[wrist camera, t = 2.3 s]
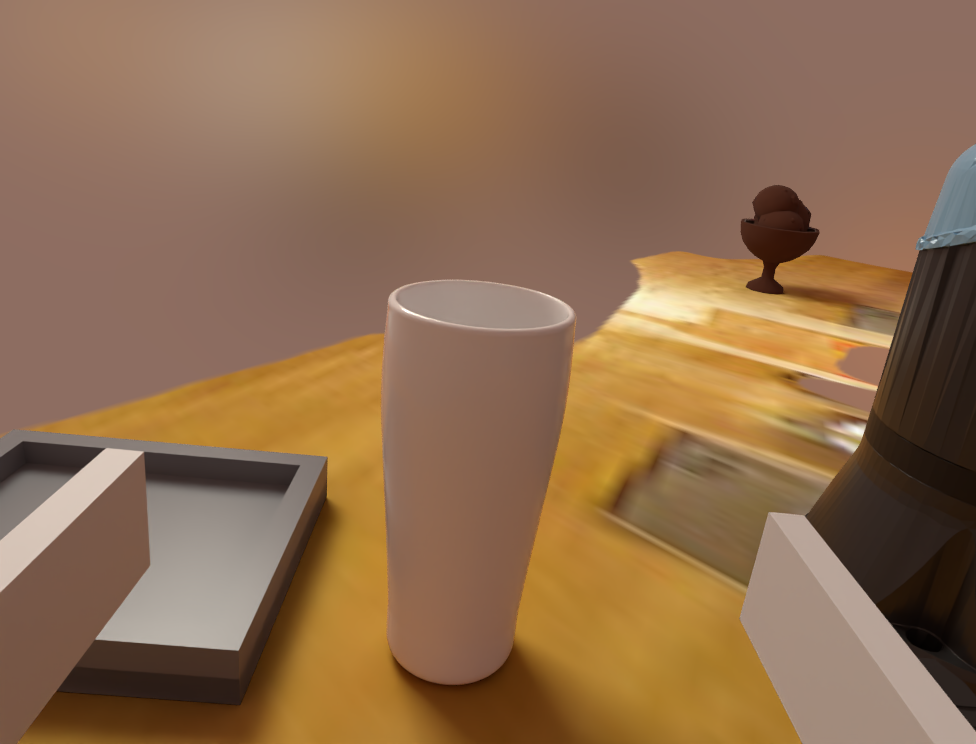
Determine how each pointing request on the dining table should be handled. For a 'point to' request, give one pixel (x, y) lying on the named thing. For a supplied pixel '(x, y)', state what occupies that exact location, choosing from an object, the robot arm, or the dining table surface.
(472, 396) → the drinking glass
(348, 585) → the dining table surface
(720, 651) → the dining table surface
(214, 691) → the serving tray
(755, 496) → the dining table surface
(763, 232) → the ice cream bowl
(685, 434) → the dining table surface
